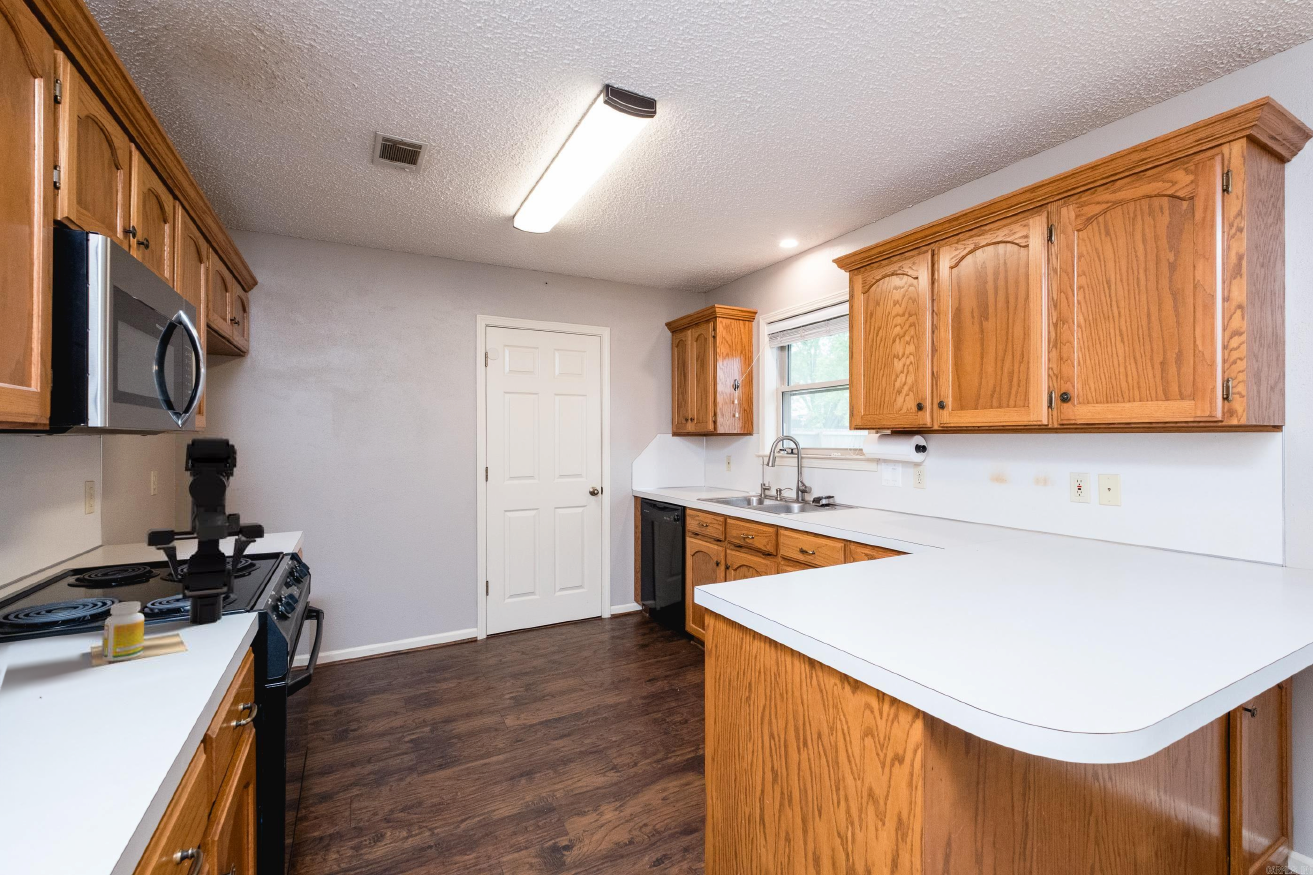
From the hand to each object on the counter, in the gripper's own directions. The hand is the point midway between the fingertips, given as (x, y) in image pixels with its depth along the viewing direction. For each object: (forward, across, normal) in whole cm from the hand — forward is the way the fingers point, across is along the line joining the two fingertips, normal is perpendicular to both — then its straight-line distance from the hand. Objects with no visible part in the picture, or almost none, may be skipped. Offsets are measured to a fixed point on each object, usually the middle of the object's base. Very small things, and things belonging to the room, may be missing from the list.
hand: (205, 576), depth 120 cm
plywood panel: (+13, -10, -1) cm, 16 cm away
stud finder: (+12, -13, +1) cm, 18 cm away
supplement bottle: (+12, -12, -5) cm, 18 cm away
